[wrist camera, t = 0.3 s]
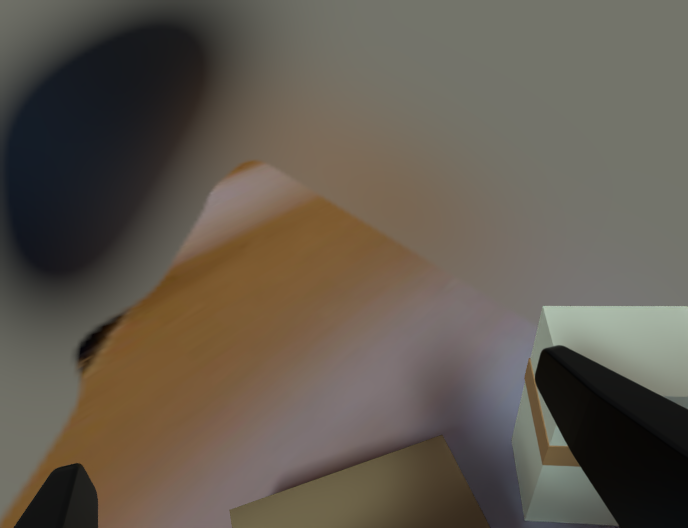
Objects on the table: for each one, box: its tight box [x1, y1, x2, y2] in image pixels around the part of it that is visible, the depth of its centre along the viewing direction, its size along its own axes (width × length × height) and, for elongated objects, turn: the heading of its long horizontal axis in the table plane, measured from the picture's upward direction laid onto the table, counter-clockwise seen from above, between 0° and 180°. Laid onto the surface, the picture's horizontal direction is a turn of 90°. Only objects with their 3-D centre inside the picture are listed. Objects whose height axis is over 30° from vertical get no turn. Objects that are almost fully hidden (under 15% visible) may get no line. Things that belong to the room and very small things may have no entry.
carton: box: [511, 306, 688, 526], centre depth 21 cm, size 4×6×10 cm
